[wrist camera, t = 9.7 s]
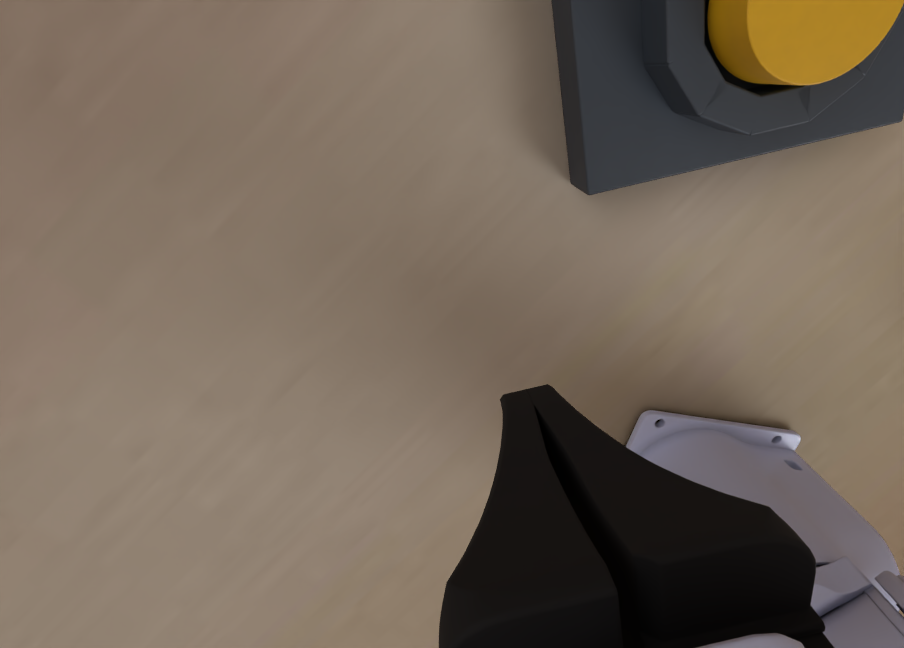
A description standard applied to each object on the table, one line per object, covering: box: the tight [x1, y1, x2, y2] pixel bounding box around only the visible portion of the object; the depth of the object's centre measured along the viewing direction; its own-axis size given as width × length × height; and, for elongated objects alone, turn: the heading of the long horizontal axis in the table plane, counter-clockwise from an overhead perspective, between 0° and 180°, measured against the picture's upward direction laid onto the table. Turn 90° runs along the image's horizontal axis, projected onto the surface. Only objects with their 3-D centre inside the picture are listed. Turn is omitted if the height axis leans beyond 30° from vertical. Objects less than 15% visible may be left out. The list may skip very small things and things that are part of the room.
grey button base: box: [552, 0, 904, 195], centre depth 17 cm, size 12×10×4 cm
